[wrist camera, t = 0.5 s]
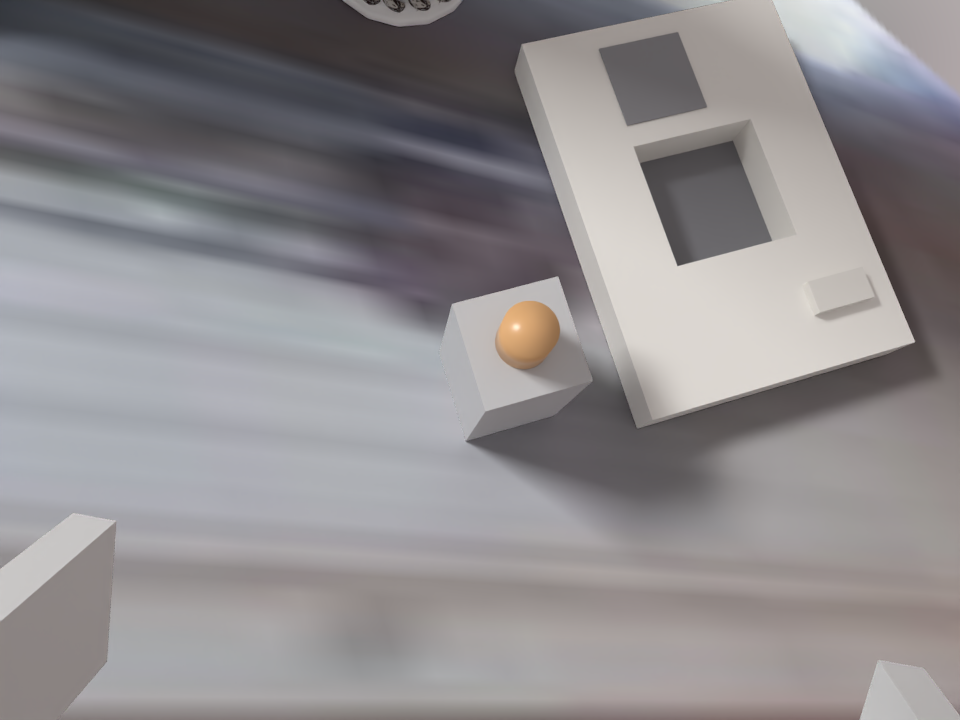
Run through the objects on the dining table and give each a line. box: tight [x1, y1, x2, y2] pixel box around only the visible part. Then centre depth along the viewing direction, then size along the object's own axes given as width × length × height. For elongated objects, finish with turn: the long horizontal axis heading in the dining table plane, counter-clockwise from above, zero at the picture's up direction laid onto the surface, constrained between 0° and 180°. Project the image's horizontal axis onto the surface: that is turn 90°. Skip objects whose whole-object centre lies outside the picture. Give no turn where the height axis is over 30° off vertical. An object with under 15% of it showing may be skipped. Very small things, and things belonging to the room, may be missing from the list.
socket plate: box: [514, 0, 915, 429], centre depth 44 cm, size 20×14×3 cm
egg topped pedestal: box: [439, 277, 593, 441], centre depth 37 cm, size 4×4×10 cm
